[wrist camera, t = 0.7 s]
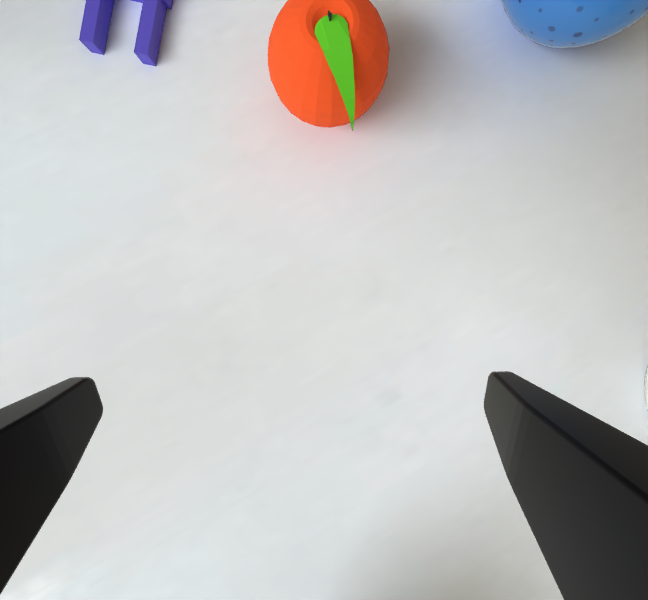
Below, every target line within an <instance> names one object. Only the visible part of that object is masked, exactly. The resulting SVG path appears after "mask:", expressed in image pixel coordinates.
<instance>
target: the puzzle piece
mask: <svg viewBox="0 0 648 600" xmlns="http://www.w3.org/2000/svg"><path fill="white" fill-rule="evenodd" d="M132 1H136V2H140V3H143V6H142V11H141V17H140V22H139V28H138V33H137V38H136V44H135V49H134V53H135V54H136V55H137V56H138V58H139V59H140V60H141V61H142V63H143V64H148V65H152V66H156V63H157V58H158V52H159V47H160V42H161V37H162V31H163V26H164V21H165V15H166V10H167V9H171V8H172V3H173V0H132ZM113 3H114V0H86V4H85V10H84V16H83V21H82V27H81V32H80V38H79V40H80V41H81V42H82V43H83V44H84V45H85V46H86V47H87V48H88V49H89V50H90V51H91V52H93V53H98V54H103V55H104V52H105V47H106V41H107V36H108V31H109V25H110V20H111V14H112V9H113Z"/></svg>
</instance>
